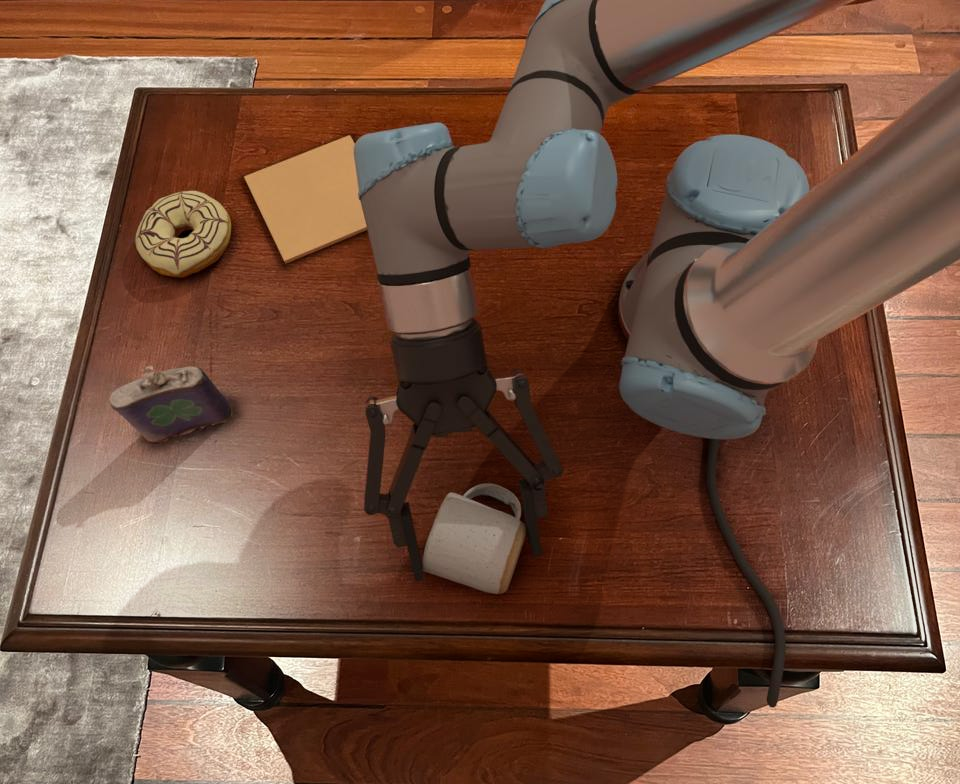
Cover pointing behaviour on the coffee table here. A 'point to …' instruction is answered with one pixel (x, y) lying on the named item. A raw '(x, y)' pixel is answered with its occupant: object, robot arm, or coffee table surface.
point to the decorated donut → (173, 219)
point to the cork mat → (310, 199)
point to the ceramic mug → (475, 540)
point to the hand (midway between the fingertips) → (477, 560)
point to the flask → (170, 403)
